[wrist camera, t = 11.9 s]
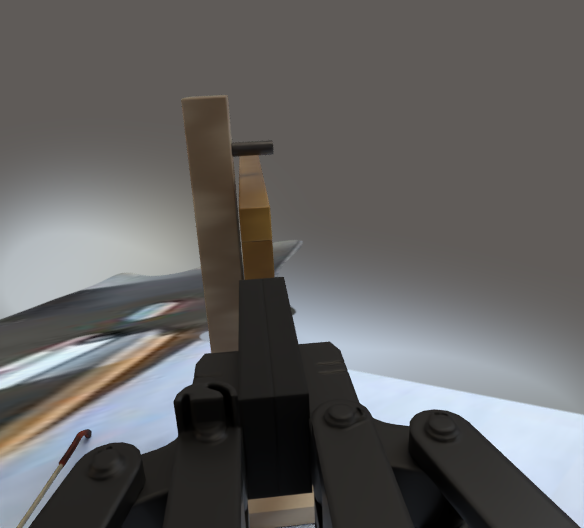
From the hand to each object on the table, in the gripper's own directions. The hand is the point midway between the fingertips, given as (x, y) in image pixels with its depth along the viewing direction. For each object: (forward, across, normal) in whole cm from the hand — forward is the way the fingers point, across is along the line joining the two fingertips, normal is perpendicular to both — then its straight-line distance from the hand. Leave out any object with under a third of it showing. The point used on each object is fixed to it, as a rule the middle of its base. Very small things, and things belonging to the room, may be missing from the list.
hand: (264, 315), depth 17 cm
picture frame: (+14, 0, -10) cm, 17 cm away
